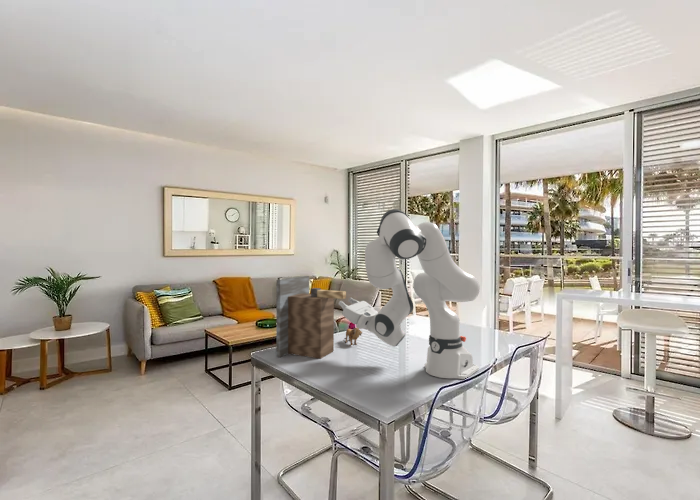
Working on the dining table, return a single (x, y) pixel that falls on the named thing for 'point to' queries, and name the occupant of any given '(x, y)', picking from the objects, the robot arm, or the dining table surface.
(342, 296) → the light wooden bar
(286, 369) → the dining table surface
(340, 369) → the dining table surface
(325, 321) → the brown tall block
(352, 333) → the lion figurine
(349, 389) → the dining table surface
